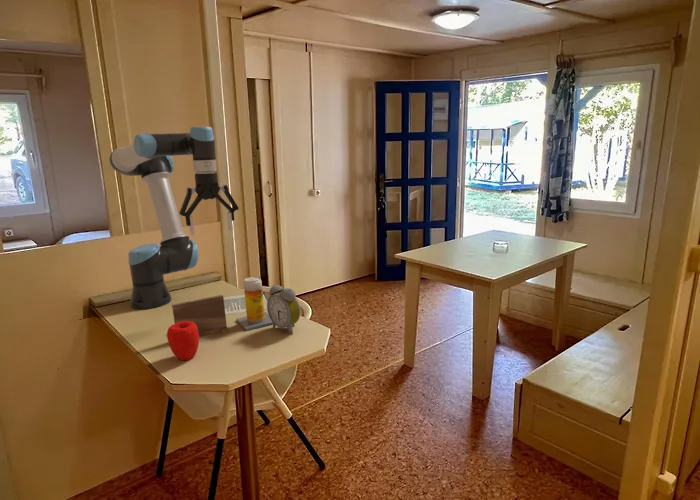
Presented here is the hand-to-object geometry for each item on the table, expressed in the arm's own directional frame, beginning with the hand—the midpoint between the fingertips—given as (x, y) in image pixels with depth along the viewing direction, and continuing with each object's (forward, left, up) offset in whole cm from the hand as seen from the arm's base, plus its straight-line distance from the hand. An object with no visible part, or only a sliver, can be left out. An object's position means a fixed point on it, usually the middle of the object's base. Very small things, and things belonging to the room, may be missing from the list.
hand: (211, 232), depth 163 cm
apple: (+31, -19, -31) cm, 48 cm away
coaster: (+17, +8, -31) cm, 36 cm away
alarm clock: (+29, +14, -31) cm, 45 cm away
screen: (+17, -11, -31) cm, 36 cm away
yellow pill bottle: (+17, +8, -30) cm, 35 cm away
